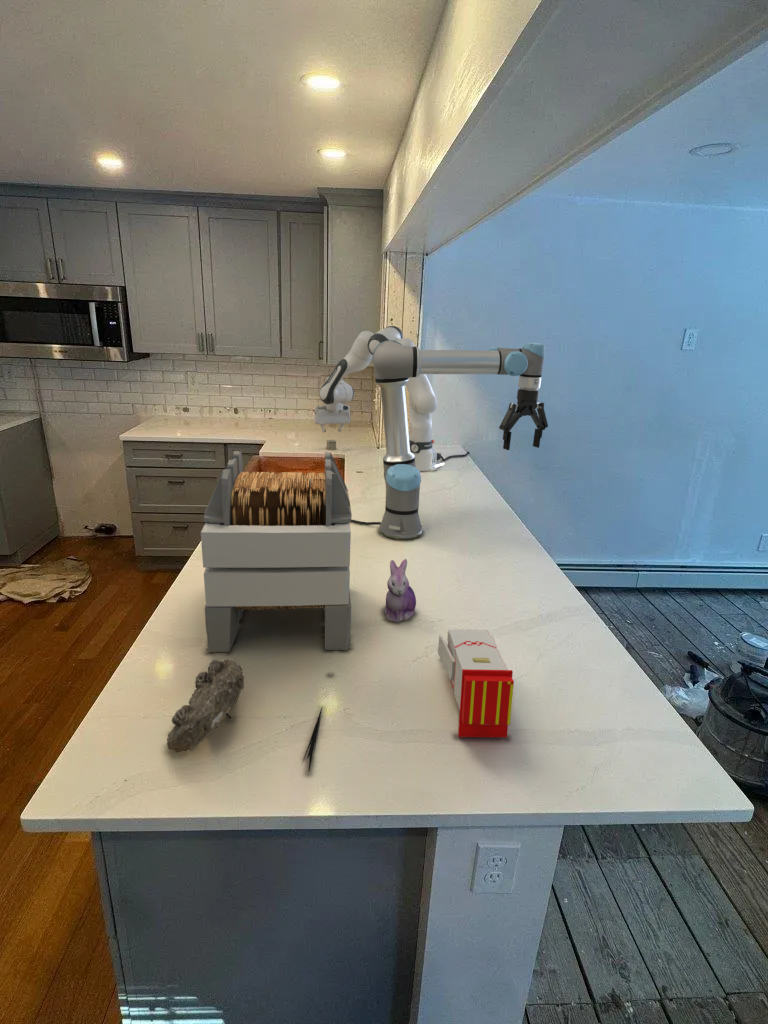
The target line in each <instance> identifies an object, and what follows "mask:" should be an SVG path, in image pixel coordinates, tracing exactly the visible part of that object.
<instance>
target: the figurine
mask: <svg viewBox="0 0 768 1024" xmlns="http://www.w3.org/2000/svg"><path fill="white" fill-rule="evenodd" d="M407 567H408V559H406V558H404V559H403V560H402V561H401V563H400V565H399V566H398V565H397V563H396V562H395V561H394V560H393V559H391V560H390V561H389V570H390V576H389V578H388V579H387V589H388V591H387V592H386V594H385V595H386V596H385V607H384V615H385V616H386V620H387V621H391V622H395V623H400V622H402V621H406V620H409V619H410V618H411V617H413V616H414V615H415V610H416V606H417V597H416V593H415V591H414V590H413V587H411V586H410V582H409V579H408V577H407V574H406V571H407Z"/></svg>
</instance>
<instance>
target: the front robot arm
mask: <svg viewBox="0 0 768 1024" xmlns="http://www.w3.org/2000/svg"><path fill="white" fill-rule="evenodd" d="M545 354H546V347H545V344H543V343H538V342H537V343H536V342H524V343H523V345H522V347H521V348H510V347H500V346H499V347H490V348H488V350H476V349H475V350H470V349H469V350H468V349H467V350H464V349H455V350H453V349H421V348H419V347H418V346H415V347H410V346H404V345H402V344H400V343H399V342H397V341H394V340H388V341H384V342H381V343H380V344H379V345H378V346H377V347H376V348H375V350H374V353H373V357H372V363H373V369H374V380H375V384H376V385H377V386H378V387H379V388H380V399H381V409H382V417H383V418H382V420H383V431H384V440H385V441H384V442H385V450H386V453H385V455H384V456H383V457H382V463H383V479H384V483H385V484H384V485H385V504H384V505H385V507H384V508H385V509H384V513H383V515H382V519H381V521H360V520H357V519H351V521H350V522H349V523H353V524H358V525H365V526H378V533H379V534H380V535H381V536H382V537H385V538H387V539H389V540H395V541H410V540H415V539H418V538H420V537H421V536H422V535H423V525H422V524H421V518H420V515H419V507H420V506H419V505H420V490H421V483H422V475H421V471H419V470H418V469H417V468H416V467H415V455H414V454H413V453H411V452H410V444H409V431H410V430H409V423H408V422H409V420H408V419H409V418H408V407H407V406H408V405H407V396H406V395H407V393H406V385H405V384H406V383H407V382H408V380H409V377H418V376H419V375H420V374H426V375H497V376H498V375H499V376H501V375H502V376H503V375H504V376H505V375H506V376H507V375H509V376H511V377H518V384H517V387H518V389H517V392H516V400H517V402H516V403H514V402H510V403H509V404H508V409H507V411H506V413H505V414H504V416H503V419H502V421H501V423H500V424H499V427H498V429H499V430H502V431H503V434H502V440H503V445H502V449H503V450H506V451H510V448H511V440H512V431H511V430H512V429H513V427H514V426H515V425H516V424H517V422H518V421H519V420H520V419H521V418H522V417H526V416H529V417H530V418H531V420H532V422H533V423H534V424H535V427H536V428H534V434H533V439H532V440H533V441H532V447H535V448H537V449H539V448H540V443H541V438H543V431H545V430H546V429H547V428H549V424H548V420H547V419H548V418H547V416H546V412H545V403H544V402H542V401H539V398H540V388H541V382H542V375H543V368H544V363H545V362H544V361H545Z"/></svg>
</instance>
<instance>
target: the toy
mask: <svg viewBox="0 0 768 1024" xmlns="http://www.w3.org/2000/svg"><path fill="white" fill-rule="evenodd" d="M446 640H447V643H446V641H445V639H444V636H443V635H442V634H439V637H438V646H437V656H438V657H439V659H440V661H441V663H442V666H443V668H444V670H445V672H446V674H447V677H448V679H449V681H450V684H451V687H452V690H453V693H454V697H455V701H456V705H457V708H458V711H459V714H458V715H459V716H458V730H457V731H458V732H457V737H458V738H508V731H509V726H510V725H511V717H512V707H513V697H514V696H513V695H514V684H515V680H514V679H513V673H514V671H513V670H512V669H508V667H507V665H506V662H505V661H504V659H503V658H502V655H501V653H500V651H499V649H498V647H497V643H496V639H495V637H494V635H493V634H491V632H490V631H489V629H467V628H466V629H465V628H463V629H461V628H460V629H459V628H448V630H447V639H446Z"/></svg>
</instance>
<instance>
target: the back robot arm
mask: <svg viewBox="0 0 768 1024" xmlns="http://www.w3.org/2000/svg"><path fill="white" fill-rule="evenodd" d="M403 334H404V333H403V331H402V329H401V328H400V327H398V326H395V325H388V326H386V327H384V328H382V329H379V330H378V331H376V332H375V333H374V332H372V331H370V330H363V331H361V332H359V334H358V336H357V337H356V339H355V340H354V341H353V344H352V346H351V348H350V350H349V351H348V352H347V354H346V355H345V356H344V357H343V358H342V359H341V360H339V361H338V363H337V364H336V365H335V367H334V368H333V370H332V372H331V373H330V375H328V376H327V377H326V380H325V382H324V383H323V385H322V386H321V387H320V389H319V391H318V396H319V398H320V400H321V401H322V402H323V403H324V406H319V405H318V406H317V407H315V409H314V418H313V422H314V423H315V425H319V426H320V427H321V433H326V432H327V428H325V425H335V424H336V425H337V424H338V425H339V427H338V428H337V432H340V433H341V432H342V431H343V428H344V426H345V424H350V422H351V419H352V418H351V411H350V409H351V407H350V406H349V405H347V403H351V402H352V401H353V399H354V397H355V390H354V388H353V386H352V385H351V384H349V383H347V382H346V381H344V378H345V377H346V376H347V375H350V374H353V373H356V372H360V371H363V370H365V369H366V368H367V367H368V366H369V365H370V363H371V361H372V360H373V353H374V350H375V348H376V347H377V346H378V345H379V344H380V343H381V342H384V341H388V340H394V341H397V342H399V343H400V344H402V345H404V346H410V347H416V345H415V343H414V342H413V340H412V339H411V338H408V337H404V335H403ZM427 375H428V374H420V375H419V376H418V377H409V380H408V382H407V383H406V384H405V388H406V390H407V392H408V394H409V395H408V413H409V414H408V416H409V430H408V431H409V444H410V452H411V453H413V454H414V455H415V467H416V468H417V469H418V470H419V471H420V472H436V471H437V470H438V469H439V467H441V466H444V465H445V462H447V460H449V459H450V458H461V457H467V456H469V455H470V454H471V452H470V451H466V453H465V454H453V455H452V454H451V455H448V456H447V457H446V458H444V457H443V456H442V453H440V452H437V451H435V449H434V447H433V445H434V443H435V439H432V437H433V420H432V414H433V413H434V412H435V411H436V410H437V408H438V405H439V404H438V398H437V396H436V394H435V391H434V389H433V387H432V386H433V385H431V382H430V380H429V378H428V376H427ZM440 460H442V461H443V462H441V461H440Z"/></svg>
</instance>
